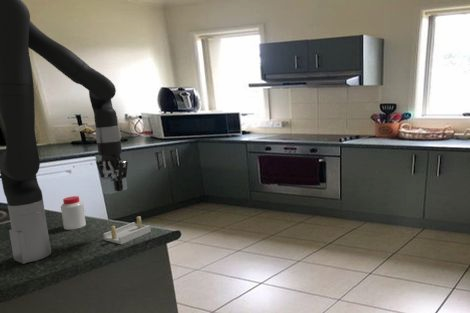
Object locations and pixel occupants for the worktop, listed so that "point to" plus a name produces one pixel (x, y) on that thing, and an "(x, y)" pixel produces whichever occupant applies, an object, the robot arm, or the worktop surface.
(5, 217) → the worktop surface
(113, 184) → the block
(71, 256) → the worktop surface
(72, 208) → the pill bottle
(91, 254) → the worktop surface
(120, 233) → the white peg stand
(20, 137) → the robot arm
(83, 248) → the worktop surface
